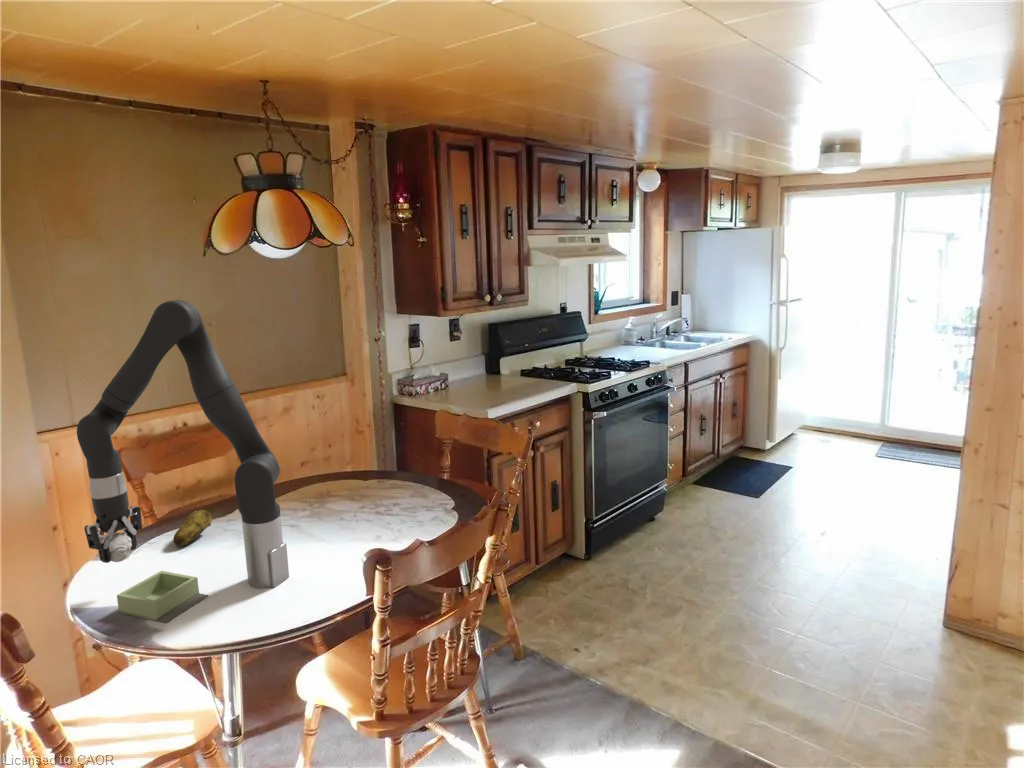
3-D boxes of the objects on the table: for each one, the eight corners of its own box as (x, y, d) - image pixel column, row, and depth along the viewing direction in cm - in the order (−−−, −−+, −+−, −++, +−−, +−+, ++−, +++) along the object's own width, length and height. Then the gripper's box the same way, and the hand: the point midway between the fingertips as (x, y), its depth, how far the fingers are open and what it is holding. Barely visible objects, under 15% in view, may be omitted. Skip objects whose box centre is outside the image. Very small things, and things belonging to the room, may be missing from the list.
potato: (164, 544, 198) (161, 518, 197) (205, 529, 208) (203, 504, 207) (179, 551, 193) (176, 524, 192) (221, 535, 204) (218, 510, 202)
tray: (208, 596, 168) (206, 579, 167) (166, 623, 156) (164, 605, 155) (163, 587, 172) (161, 570, 172) (119, 613, 160) (116, 595, 160)
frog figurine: (139, 553, 171) (135, 527, 170) (125, 566, 164) (120, 539, 163) (115, 554, 171) (110, 529, 170) (99, 567, 164) (95, 540, 163)
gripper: (93, 503, 156) (105, 570, 160) (145, 483, 170) (154, 544, 173) (70, 501, 159) (81, 566, 162) (122, 480, 172) (132, 541, 176)
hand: (119, 555), depth 168 cm, fingers closed on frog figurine, 6 cm apart
